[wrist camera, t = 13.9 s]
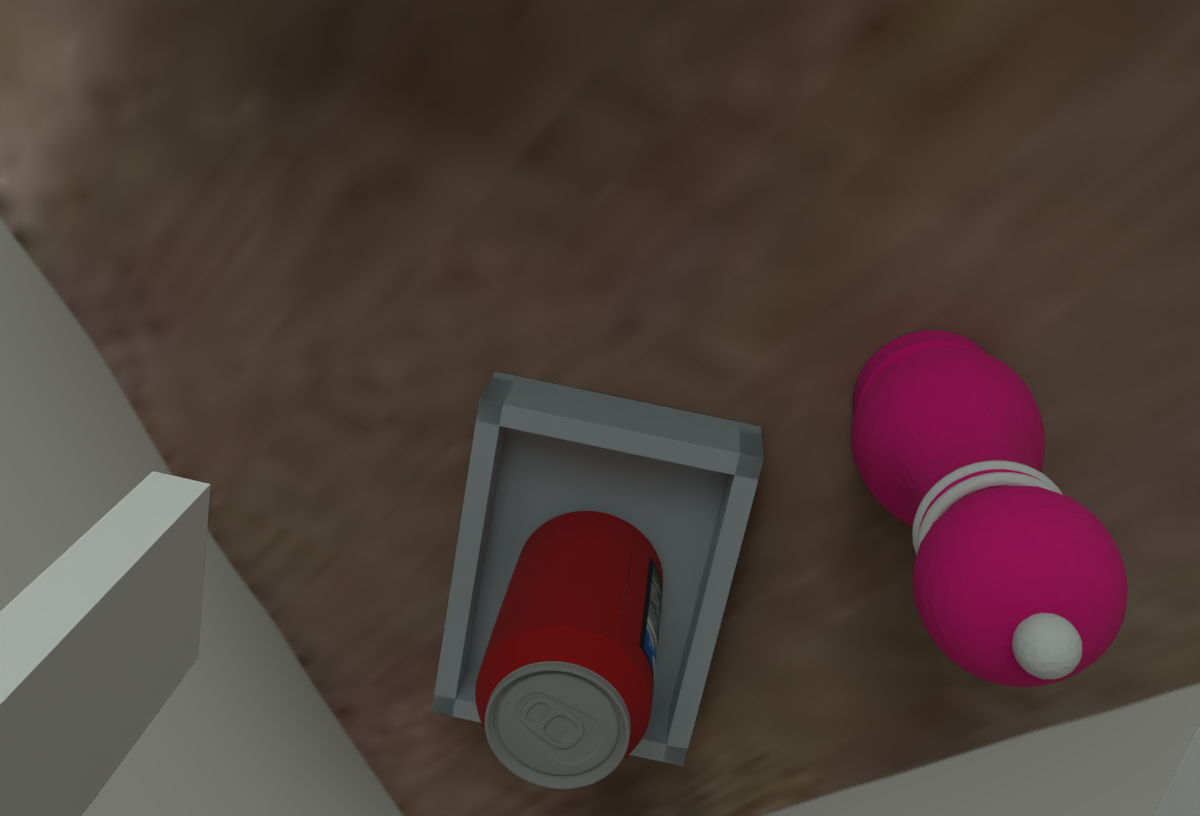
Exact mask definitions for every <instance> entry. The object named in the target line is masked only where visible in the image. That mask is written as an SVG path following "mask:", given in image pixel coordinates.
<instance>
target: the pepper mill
mask: <svg viewBox="0 0 1200 816" xmlns="http://www.w3.org/2000/svg"><path fill="white" fill-rule="evenodd" d="M853 411H854V419H853V425H852V436H851V445H852V451H853V457H854V460H855V463H856V466H857V468H858V471H859V473H860V475H861V476H862V478H863V480H864V482H865V484H866V485H867V487H868V489H869V491H870V492H871V494H872V495H873V496H874V497H875V499H876V500H877V501H878V502H879V503H880V504H881V505H882V506H884V507H885V508H886V509H887V510H888V511H889V512H891V513H892V514H893V515H894V516H895V517H897V518H898V519H900V520H901V521H903V522H905V523H906V524H908V525H910V526H913V528H912V536H913V546H914V549H915V552H916V559H915V562H914V566H913V592H914V600H915V604H916V606H917V609H918V612H919V615H920V617H921V620H922V623H923V625H924V626H925V628H926V630H927V632H928V633H929V635H930V637H931V638H932V640H933V641H934V642H935V644H936V645H937V646H938V647H939V648H940V649H941V650H942V652H943V653H944V654H945V655H946V656H947V657H948V658H949V659H950V660H952V661H953V662H954V663H956V664H957V665H958V666H960V667H961V668H963V669H964V670H965V671H967V672H969V673H971V674H973V675H975V676H977V677H979V678H981V679H984V680H987V681H990V682H994V683H998V684H1002V685H1006V686H1018V687H1032V686H1040V685H1047V684H1050V683H1054V682H1058V681H1061V680H1064V679H1066V678H1068V677H1070V676H1073V675H1075V674H1077V673H1079V672H1080V671H1082V670H1083V669H1085V668H1086V667H1088V666H1089V665H1091V664H1092V663H1094V662H1095V661H1096V660H1097V659H1098V658H1099V657H1100V656H1101V655H1102V654H1104V653H1105V651H1106V650H1107V649H1108V647H1109V646H1110V645H1111V643H1112V642H1113V641H1114V639H1115V638H1116V636H1117V634H1118V631H1119V629H1120V627H1121V625H1122V623H1123V620H1124V616H1125V612H1126V603H1127V589H1128V584H1127V578H1126V572H1125V566H1124V563H1123V561H1122V558H1121V555H1120V553H1119V550H1118V547H1117V546H1116V544H1115V542H1114V540H1113V539H1112V537H1111V535H1110V533H1109V532H1108V531H1107V529H1106V528H1105V527H1104V526H1103V524H1102V523H1101V522H1100V521H1099V520H1098V519H1097V518H1096V517H1095V516H1094V515H1093V514H1092V513H1091V512H1090V511H1089V510H1087V509H1086V508H1085V507H1083V506H1082V505H1081V504H1079V503H1078V502H1076V501H1075V500H1074V499H1072V498H1070V497H1067V496H1065V495H1063V494H1062V492H1061V491H1060V489H1059V488H1058V487H1057V486H1056V485H1055V484H1054V483H1053V482H1052V481H1051V480H1050V479H1049V478H1048V477H1046V476H1045V475H1044V474H1042V473H1041V470H1042V466H1043V459H1044V446H1045V438H1044V427H1043V422H1042V418H1041V414H1040V411H1039V409H1038V407H1037V404H1036V402H1035V400H1034V398H1033V396H1032V394H1031V392H1030V390H1029V388H1028V386H1027V385H1026V384H1025V383H1024V381H1023V380H1022V379H1021V378H1020V376H1019V375H1018V374H1016V373H1015V372H1014V371H1013V370H1012V369H1011V368H1010V367H1008V366H1007V365H1006V364H1004V363H1003V362H1001V361H1000V360H998V359H996V358H994V357H992V356H990V355H988V354H987V353H986V352H985V351H984V350H983V349H982V348H981V347H980V346H978V345H977V344H976V343H975V342H973V341H971V340H969V339H968V338H966V337H963V336H961V335H958V334H955V333H951V332H947V331H938V330H926V331H918V332H914V333H910V334H906V335H904V336H901V337H899V338H896V339H895V340H893V341H891V342H889V343H887V344H886V345H885V346H883V347H882V348H880V349H879V350H878V351H877V352H876V353H875V354H874V355H873V356H872V357H871V358H870V359H869V360H868V362H867V363H866V364H865V366H864V367H863V369H862V371H861V372H860V375H859V377H858V379H857V382H856V385H855V389H854V394H853Z"/></svg>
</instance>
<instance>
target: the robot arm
mask: <svg viewBox="0 0 1200 816" xmlns="http://www.w3.org/2000/svg"><path fill="white" fill-rule="evenodd" d="M209 497H210V484H207V483H203V482H198V481H194V480H190V479H185V478H181V477H176V476H172V475H167V474H163V473H159V472H154V471H153V472H152V473H150V474H149V475H148V476H147V477H146V478H145V479H144V480H143V481H142V482H141V483H140V484H139V485H137V486H136V487H135V488H134V489H133V490H132V491H131V492H130V493H129V494H128V495H127V496H125V497H124V498H123V499H122V500H121V501H120V502H119V503H118V504H117V505H116V506H115V507H113V509H111V510H110V511H109V512H108V513H107V514H106V515H105V516H104V517H103V518H101V519H100V520H99V521H98V522H97V523H96V524H95V525H94V526H93V527H92V528H91V529H89V531H87V532H86V533H85V534H84V535H83V536H82V537H81V538H80V539H79V540H78V541H76V542H75V543H74V544H73V545H72V546H71V547H70V548H69V549H68V550H67V551H66V552H65V553H63V554H62V555H61V556H60V557H59V558H58V559H57V560H56V561H55V562H54V563H52V564H51V565H50V566H49V567H48V568H47V569H46V570H45V571H44V572H43V573H42V574H40V575H39V576H38V577H37V578H36V579H35V580H34V581H33V582H32V583H31V584H30V585H29V586H27V587H26V588H25V589H24V590H23V591H22V592H21V593H20V594H19V595H18V596H17V597H15V598H14V599H13V600H12V601H11V602H10V603H9V604H8V605H7V606H6V607H5V608H3V610H1V611H0V816H82V815H83V813H84V812H85V811H86V809H87V808H88V807H89V805H90V804H91V803H92V801H93V800H94V798H95V797H96V796H97V794H98V793H99V792H100V790H101V789H102V788H103V786H104V785H105V784H106V782H107V781H108V780H109V778H110V777H111V775H112V774H113V773H114V771H115V770H116V769H117V767H118V766H119V764H120V763H121V762H122V761H123V759H124V758H125V756H126V755H127V754H128V752H129V751H130V750H131V748H132V747H133V745H134V744H135V743H136V742H137V740H138V739H139V737H140V736H141V735H142V733H143V732H144V731H145V729H146V728H147V727H148V725H149V724H150V723H151V721H152V720H153V718H154V717H155V715H156V714H157V713H158V712H159V710H160V709H161V708H162V706H163V705H164V703H165V702H166V701H167V699H168V698H169V697H170V695H171V694H172V692H173V691H174V690H175V689H176V687H177V686H178V685H179V683H180V682H181V680H182V679H183V678H184V676H185V675H186V674H187V672H188V671H189V670H190V668H191V667H192V666H193V664H194V663H195V661H196V660H197V659H198V651H199V638H200V624H201V609H202V596H203V582H204V568H205V553H206V539H207V525H208V511H209ZM1153 816H1200V725H1199V727H1198V729H1197V731H1196V733H1195V735H1194V737H1193V739H1192V741H1191V743H1190V745H1189V747H1188V749H1187V751H1186V752H1185V754H1184V756H1183V758H1182V760H1181V762H1180V764H1179V766H1178V768H1177V770H1176V772H1175V774H1174V776H1173V778H1172V780H1171V782H1170V784H1169V786H1168V788H1167V790H1166V792H1165V794H1164V796H1163V798H1162V800H1161V802H1160V804H1159V806H1158V808H1157V810H1156V811H1155V813H1154V815H1153Z"/></svg>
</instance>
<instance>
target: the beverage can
mask: <svg viewBox="0 0 1200 816" xmlns="http://www.w3.org/2000/svg"><path fill="white" fill-rule="evenodd" d="M662 590H663V572H662V566H661V562H660V559H659V557H658V555H657V553H656V550H655V549H654V547H653V545H652V544H651V543H650V541H649V540H648V539H647V538H646V536H645V535H644V534H643V533H642V532H641V531H639V530H638V529H637V528H636V527H634V526H633V525H632V524H630V523H628V522H627V521H625V520H623V519H621V518H619V517H616V516H613V515H610V514H607V513H602V512H596V511H576V512H570V513H566V514H562V515H559V516H557V517H554V518H552V519H550V520H549V521H547V522H545V523H544V524H542V525H541V526H540V527H539V528H537V529H536V530H535V531H534V532H533V533H532V534H531V536H530V537H529V538H528V540H527V541H526V543H525V544H524V546H523V548H522V551H521V553H520V556H519V559H518V561H517V564H516V567H515V569H514V572H513V575H512V577H511V580H510V583H509V585H508V588H507V591H506V594H505V597H504V599H503V602H502V605H501V608H500V611H499V614H498V616H497V619H496V622H495V625H494V628H493V631H492V634H491V637H490V640H489V643H488V646H487V649H486V652H485V655H484V658H483V661H482V664H481V667H480V670H479V674H478V677H477V681H476V687H475V700H476V707H477V711H478V715H479V718H480V720H481V723H482V725H483V727H484V729H485V733H486V737H487V740H488V743H489V745H490V747H491V749H492V751H493V753H494V754H495V756H496V757H497V758H498V760H499V761H500V762H501V763H502V764H503V765H504V766H505V767H506V768H507V769H508V770H509V771H511V772H512V773H514V774H515V775H517V776H518V777H520V778H522V779H524V780H525V781H528V782H530V783H532V784H535V785H539V786H542V787H547V788H553V789H574V788H580V787H584V786H588V785H591V784H593V783H596V782H598V781H600V780H601V779H603V778H605V777H606V776H607V775H609V774H610V773H611V772H612V771H613V770H615V768H616V767H617V766H618V765H619V764H620V762H621V761H622V760H623V759H624V758H626V757H627V756H628V755H629V754H630V753H631V752H632V751H633V750H634V749H635V748H636V746H637V745H638V744H639V742H640V741H641V740H642V738H643V736H644V734H645V732H646V730H647V727H648V725H649V721H650V716H651V708H652V699H653V690H654V681H655V672H656V662H657V652H658V641H659V630H660V618H661V605H662Z"/></svg>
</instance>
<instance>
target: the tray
mask: <svg viewBox="0 0 1200 816" xmlns="http://www.w3.org/2000/svg"><path fill="white" fill-rule="evenodd" d="M763 460H764V453H763V442H762V431H761V427H760V426H755V425H751V424H746V423H741V422H736V421H731V420H727V419H722V418H717V417H712V416H707V415H702V414H698V413H693V412H688V411H683V410H678V409H674V408H669V407H664V406H659V405H654V404H650V403H645V402H640V401H635V400H630V399H625V398H621V397H616V396H611V395H606V394H601V393H597V392H592V391H587V390H582V389H577V388H573V387H568V386H563V385H558V384H553V383H549V382H544V381H539V380H534V379H529V378H524V377H520V376H515V375H510V374H505V373H500V372H496V371H495V372H494V374H493V376H492V378H491V380H490V381H489V383H488V385H487V387H486V388H485V390H484V392H483V394H482V395H481V397H480V399H479V405H478V411H477V418H476V424H475V431H474V437H473V444H472V450H471V457H470V464H469V470H468V477H467V483H466V490H465V496H464V503H463V509H462V516H461V523H460V529H459V536H458V542H457V549H456V555H455V562H454V568H453V575H452V582H451V588H450V595H449V601H448V608H447V614H446V621H445V627H444V634H443V640H442V647H441V654H440V660H439V667H438V673H437V680H436V686H435V693H434V699H433V706H432V712H434V713H439V714H443V715H448V716H452V717H457V718H462V719H466V720H471V721H476V722H480V723H481V720H480V718H479V715H478V711H477V707H476V700H475V687H476V681H477V677H478V674H479V670H480V667H481V664H482V661H483V658H484V655H485V652H486V649H487V646H488V643H489V640H490V637H491V634H492V631H493V628H494V625H495V622H496V619H497V616H498V614H499V611H500V608H501V605H502V602H503V599H504V597H505V594H506V591H507V588H508V585H509V583H510V580H511V577H512V575H513V572H514V569H515V567H516V564H517V561H518V559H519V556H520V553H521V551H522V548H523V546H524V544H525V543H526V541H527V540H528V538H529V537H530V536H531V534H532V533H533V532H534V531H535V530H536V529H537V528H539V527H540V526H541V525H542V524H544V523H545V522H547V521H549V520H550V519H552V518H554V517H557V516H559V515H562V514H566V513H570V512H576V511H596V512H602V513H607V514H610V515H613V516H616V517H619V518H621V519H623V520H625V521H627V522H628V523H630V524H632V525H633V526H634V527H636V528H637V529H638V530H639V531H641V532H642V533H643V534H644V535H645V536H646V538H647V539H648V540H649V541H650V543H651V544H652V545H653V547H654V549H655V550H656V553H657V555H658V557H659V559H660V562H661V566H662V572H663V590H662V605H661V618H660V630H659V641H658V652H657V662H656V672H655V681H654V690H653V699H652V708H651V716H650V721H649V725H648V727H647V730H646V732H645V734H644V736H643V738H642V740H641V741H640V742H639V744H638V745H637V746H636V748H635V749H634V750H633V751H632V752H631V753H630V754H629V755H633V756H637V757H642V758H646V759H651V760H656V761H660V762H665V763H669V764H674V765H679V766H684V762H685V758H686V755H687V751H688V747H689V743H690V739H691V736H692V732H693V728H694V724H695V720H696V716H697V713H698V709H699V705H700V701H701V697H702V693H703V690H704V686H705V682H706V678H707V674H708V671H709V667H710V663H711V659H712V655H713V651H714V648H715V644H716V640H717V636H718V632H719V629H720V625H721V621H722V617H723V613H724V609H725V606H726V602H727V598H728V594H729V590H730V587H731V583H732V579H733V575H734V571H735V567H736V564H737V560H738V556H739V552H740V548H741V544H742V541H743V537H744V533H745V529H746V525H747V522H748V518H749V514H750V510H751V506H752V502H753V499H754V495H755V491H756V487H757V483H758V480H759V476H760V472H761V468H762V464H763Z"/></svg>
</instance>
